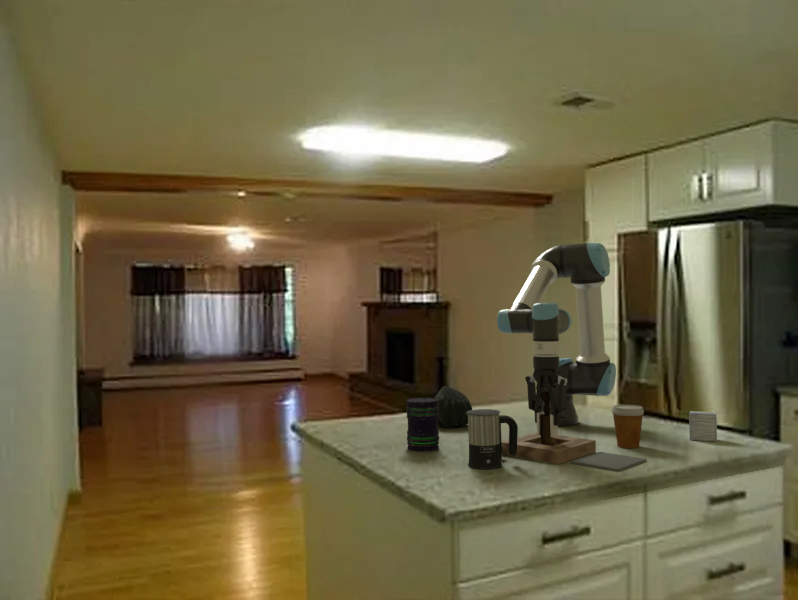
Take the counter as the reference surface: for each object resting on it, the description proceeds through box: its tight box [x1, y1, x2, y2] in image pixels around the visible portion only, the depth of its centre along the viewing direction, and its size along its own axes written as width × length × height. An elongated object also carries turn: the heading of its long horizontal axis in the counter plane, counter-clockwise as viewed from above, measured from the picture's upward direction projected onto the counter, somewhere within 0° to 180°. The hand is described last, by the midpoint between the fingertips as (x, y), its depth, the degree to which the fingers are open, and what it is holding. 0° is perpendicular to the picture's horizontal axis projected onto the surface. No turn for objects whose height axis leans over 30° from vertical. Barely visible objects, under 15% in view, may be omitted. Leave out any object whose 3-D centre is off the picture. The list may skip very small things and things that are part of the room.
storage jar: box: [405, 397, 440, 453], centre depth 216 cm, size 10×10×15 cm
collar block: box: [501, 432, 597, 465], centre depth 207 cm, size 20×20×4 cm
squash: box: [434, 385, 473, 429], centre depth 255 cm, size 14×15×15 cm
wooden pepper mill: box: [538, 391, 558, 446], centre depth 207 cm, size 7×6×18 cm
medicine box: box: [688, 410, 718, 443], centre depth 223 cm, size 8×4×9 cm, turn 65°
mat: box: [570, 451, 647, 472], centre depth 194 cm, size 14×16×1 cm
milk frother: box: [466, 408, 519, 470], centre depth 197 cm, size 14×16×15 cm
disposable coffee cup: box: [610, 404, 645, 449], centre depth 215 cm, size 10×10×12 cm
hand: (547, 435), depth 207 cm, fingers closed on wooden pepper mill, 4 cm apart
